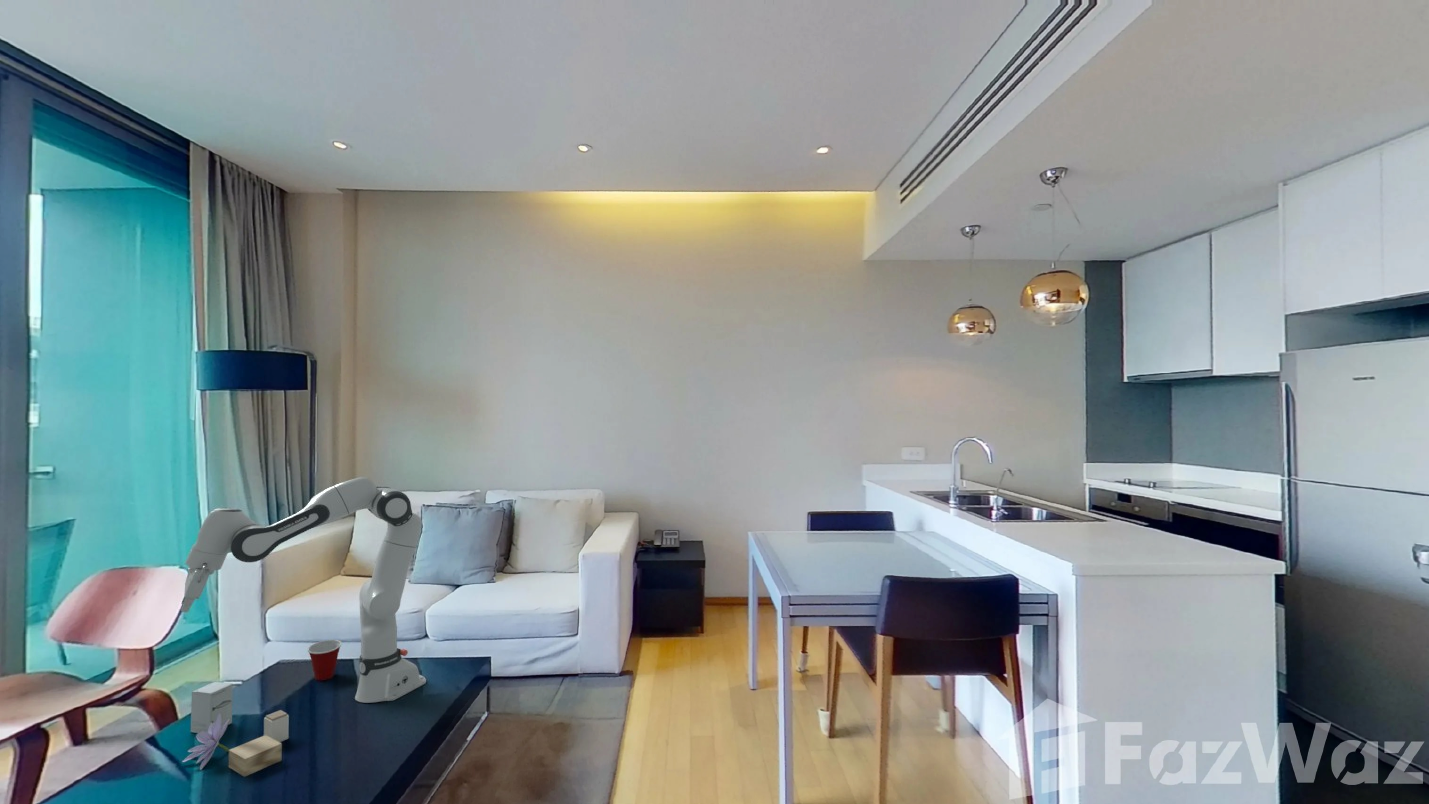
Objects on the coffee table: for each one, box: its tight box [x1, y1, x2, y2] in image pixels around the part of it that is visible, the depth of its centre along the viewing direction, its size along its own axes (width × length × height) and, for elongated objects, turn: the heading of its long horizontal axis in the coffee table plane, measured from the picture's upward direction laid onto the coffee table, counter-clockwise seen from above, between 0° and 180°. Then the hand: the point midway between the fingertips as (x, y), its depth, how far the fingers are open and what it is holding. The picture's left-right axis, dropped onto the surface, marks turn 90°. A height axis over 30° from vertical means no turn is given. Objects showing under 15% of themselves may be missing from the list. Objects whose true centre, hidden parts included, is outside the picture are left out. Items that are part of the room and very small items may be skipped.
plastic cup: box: [306, 639, 343, 681], centre depth 226 cm, size 11×11×12 cm
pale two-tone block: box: [263, 709, 290, 743], centre depth 183 cm, size 5×5×8 cm
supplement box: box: [190, 681, 234, 734], centre depth 190 cm, size 7×7×13 cm
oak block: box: [228, 734, 283, 777], centre depth 171 cm, size 9×9×5 cm
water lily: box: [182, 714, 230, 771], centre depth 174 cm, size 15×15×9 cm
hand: (184, 607), depth 179 cm, fingers open, 8 cm apart
